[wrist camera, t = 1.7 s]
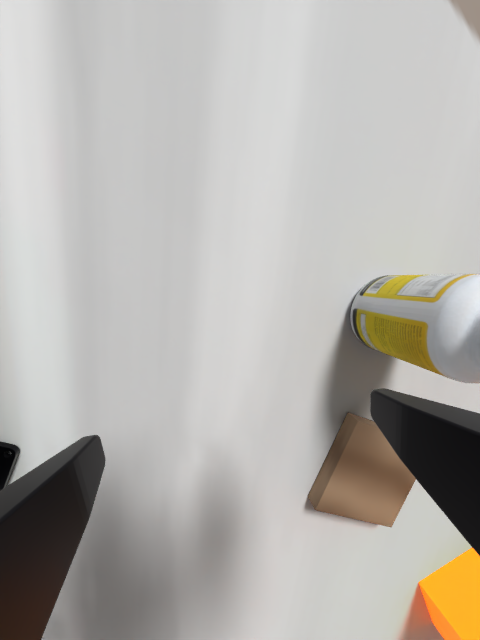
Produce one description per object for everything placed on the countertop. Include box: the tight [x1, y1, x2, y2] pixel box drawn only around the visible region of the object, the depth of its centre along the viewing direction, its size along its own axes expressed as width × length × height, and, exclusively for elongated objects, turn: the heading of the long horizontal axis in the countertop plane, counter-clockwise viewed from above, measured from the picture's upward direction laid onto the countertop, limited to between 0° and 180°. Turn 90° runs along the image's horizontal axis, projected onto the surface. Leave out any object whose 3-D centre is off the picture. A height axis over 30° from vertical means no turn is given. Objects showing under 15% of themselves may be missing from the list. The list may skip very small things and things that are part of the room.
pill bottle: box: [350, 274, 480, 383], centre depth 17 cm, size 6×6×12 cm
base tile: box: [308, 413, 416, 527], centre depth 25 cm, size 9×9×2 cm
